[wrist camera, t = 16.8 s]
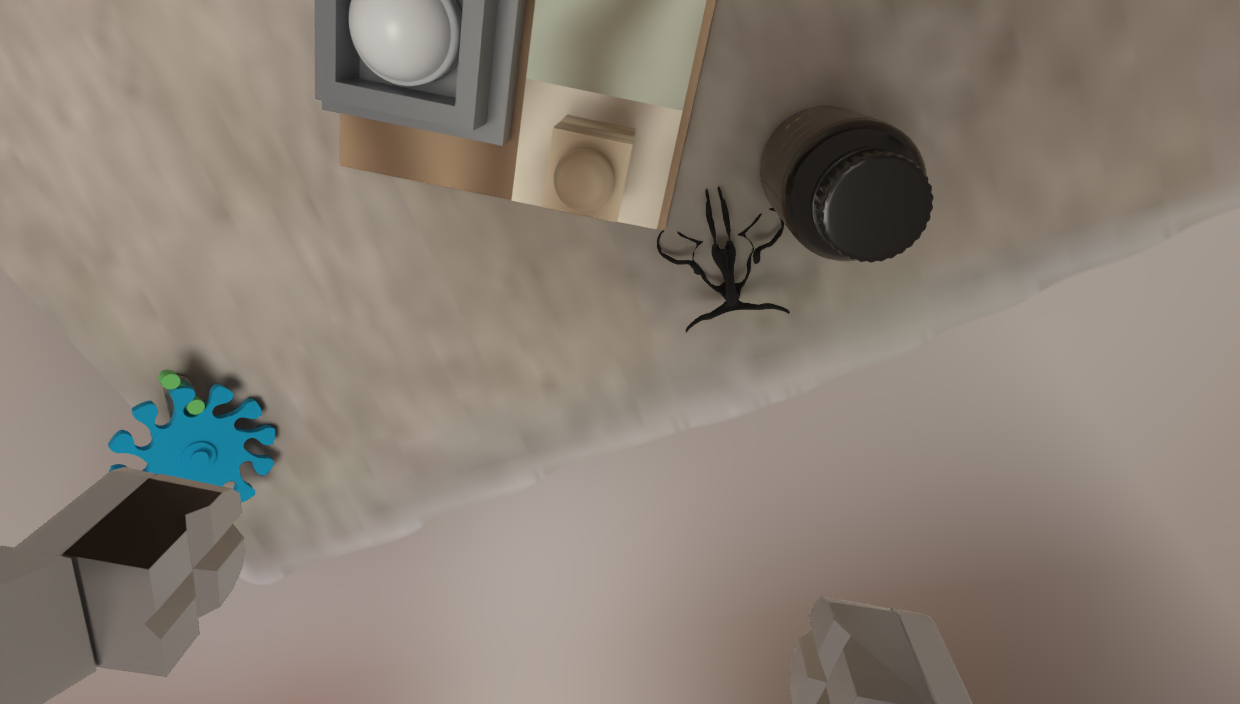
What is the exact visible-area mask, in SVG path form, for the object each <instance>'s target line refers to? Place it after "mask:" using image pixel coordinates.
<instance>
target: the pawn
mask: <svg viewBox="0 0 1240 704" xmlns="http://www.w3.org/2000/svg"><path fill="white" fill-rule="evenodd" d="M635 130H636V129H633V128H628V127H624V126H619V125H614V124H610V123H605V122H600V121H596V120H591V119H586V118H582V117H577V116H572V115H568V114H567V115H566V116H565V117H564V118H563V119H562V120H561V121H560V122H559V123H558V124H557V125H555V126H554V127H553V132H552V139H551V145H550V152H549V159H548V166H547V173H546V179H545V186H544V193H543V200H542V206H541V207H544V208H549V209H554V210H559V211H563V212H568V213H573V214H578V215H583V216H588V217H592V218H597V219H602V220H607V221H612V222H617V221H618V216H619V211H620V206H621V201H622V196H623V191H624V186H625V181H626V176H627V171H628V166H629V161H630V156H631V151H632V146H633V141H634V135H635Z"/></svg>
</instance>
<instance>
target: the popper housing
mask: <svg viewBox="0 0 1240 704" xmlns="http://www.w3.org/2000/svg"><path fill="white" fill-rule="evenodd" d="M456 2H457V3H458V5H459V8H460V10H461V13H462V24H461V37H460V50H459V61H458V63H457V65H456V66H455V67H454V69H453V70H452V71H451V72H450V73H449V74H447V75H446V76H445V77H443V78H441V79H439V80H437V81H434V82H430V83H426V84H421V85H415V86H403V85H398V84H394V83H391V82H389V81H386V80H385V79H383V78H381V77H379V76H378V75H377V74H375V73H374V72H373V71H372V70H371V69H370V68H369V67H368V66H367V65H366V64H365V63H364V62H363V60H362V59H361V57H360V56H359V54H358V52H357V50H356V48H355V46H354V44H353V41H352V38H351V34H350V29H349V8H350V3H351V0H315V99H318V100H322V110H327V111H332V112H337V113H342V114H347V115H352V116H357V117H362V118H367V119H372V120H377V121H382V122H387V123H392V124H397V125H401V126H406V127H411V128H416V129H421V130H426V131H431V132H436V133H441V134H446V135H451V136H456V137H461V138H466V139H471V140H476V141H481V142H486V143H491V144H496V145H501V146H503V145H504V144H506V143H507V142H508V141H510V140H511V133H512V124H513V116H514V107H515V98H516V89H517V81H518V72H519V63H520V54H521V46H522V37H523V28H524V19H525V11H526V2H527V0H456Z"/></svg>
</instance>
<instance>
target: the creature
mask: <svg viewBox="0 0 1240 704" xmlns="http://www.w3.org/2000/svg"><path fill="white" fill-rule="evenodd" d="M718 192H719V196H720V200H721V207H722V212H723V220H724V223H725V227H726V231H727V234H728V237H729V241H728V242H727V244H726V246H725V249H721V250H720V248H719V246H718V244H716V233H715V226H714V220H713V218H712V212H711V206H710V200H709V194H708V190H707V189H706V198H707V202H706V217H707V222H708V225H709V228H710V231H711V234H712V236H713V239H714V244H713V245H712V257H713V259H714V261H715V263H716V264H717V266H718V267H719V268H720V270H721V272H722V274H723V277H724V280H725V282H724V283H722V284H721V285H720V286H715V285H713V284H711V283H710V282H709V281H708V279H707V278H706V276H705V274H704V272H703V271H702V269H701V268H700V267H699V266H698V265H697V264H696V263H695V262H694V260H693V261H690V260H676V259H674V258H672V257H670V256H668V255H666V254H664V253H662V251H661V248H660V245H659V239H660V236H661V234H662V233H663V232H664V230H663V231H662V232H661V233H660V234H659V236H658V239H657V249H658V251H659V253H660V254H661V255H662V256H663V257H664V258H666V259H667V260H669V261H670V262H672V263H675V264H677V265H678V264H689V265H690V266H691V267H692V268H693V269H694V273H695V274H697V275H701V277H702V278H703V280H704V281H705V282H706V283H707V284H708V285H709V286H710V287H711V288H713V289H714V290H715V291H717V292H719V293H720V294H721V295H722V296H723V297H724V299H725V300H726V301H725V302H724V303H723V304H722V305H721V306H720V307H718V308H716V309H715V310H714V311H712V312H710V313H707V314H704V315H701V316H699V317H698V318H697V319H695V320H694V321H693V322H692V323H691V324H690V325H689V326H688V327H687V328H686V333H687V331H688V330H689V329H690V328H691V327H692V326H694V325H695V324H697V323H698V322H700V321H702V320H709V319H712V318H714V317H716V316H718V315H721V314H723V313H726V312H729V311H733V310H763V309H777V310H781V311H784V312H787V313H788V314H789V313H790V312H789V310H787V309H786V308H784V307H781V306H778V305H774V304H770V303H764V304H760V305H756V304H750V303H743V302H741V301H739V300H738V299H739V297H740V291H741V288H742V287H743V286H744V284H745V282H746V280H747V278H748V276H749V274H750V270H751V255H752V253H753V251H754V247H753V251H752V253H751V254H750V256H749V258H748V262H747V274H746V277H745V279H744V280H743V281H742V282H740V283H734V262H735V256H736V250H735V247H734V244H733V242H732V241H730V231H731V229H730V219H729V213H728V208H727V206H726V202H725V200H724V198H723V197H722V193H721V190H720V187H718ZM770 210H772V211H775V210H774V208H770ZM775 212H776V211H775ZM776 213H777V212H776ZM761 214H762V213H761ZM761 214H759V215H758V217H757V218H756V219H755V221H754V222H753V223H752V225H751V226H750V227H748V228H747V229H746V230H744V231H743V232H742V233H740V234H738V235H739V236H744V237H745V238H746V235H745V233H746V232H747V231H748V230H749V229H750V228H751V227H752V226H753V225H754V224H755V223H756V222H757V221H758V219H759V218H760V216H761ZM780 219H781V218H780ZM781 224H782V227H781V229H780V230H779V231H778V232H777V234H776V235H775V236H774V238H773V239H772V240H771V242H769V243H766V244H764V245H762V246H759V247H758V248H756V249H755V251H754V253H753V261H754V264H757V263H759V261H760V252H761V250H763V249H765V248H767V247H770V246H772V245H773V244H774V243H775V242H776V241H777V239H778V238H779V237H780V236H781V234H782V231H783V228H784V222H783V220H782V219H781ZM678 234H679V235H680V236H681V237H684V238H686V239H688V240H691V241H693V242H695V243H696V245H697V247H698V245H700V244H701V243H703V242H702V241H697V240H693V239H690V238H687V237H686V236H684V235H683V234H681V233H680V232H678ZM748 240H749V239H748ZM749 241H750V240H749ZM750 242H751V241H750ZM751 244H752V243H751ZM752 246H753V245H752ZM697 247H696V248H697ZM693 257H694V253H693Z"/></svg>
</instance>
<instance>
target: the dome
mask: <svg viewBox="0 0 1240 704" xmlns="http://www.w3.org/2000/svg"><path fill="white" fill-rule="evenodd" d="M461 24H462V13H461V10H460V8H459V5H458V3H457V2H456V0H351V3H350V8H349V29H350V34H351V38H352V41H353V44H354V46H355V48H356V50H357V52H358V54H359V56H360V57H361V59H362V60H363V62H364V63H365V64H366V65H367V66H368V67H369V68H370V69H371V70H372V71H373V72H374V73H375V74H377V75H378V76H379V77H381V78H383V79H385V80H386V81H389V82H391V83H394V84H398V85H403V86H415V85H421V84H426V83H430V82H434V81H437V80H439V79H441V78H443V77H445V76H446V75H447V74H449V73H450V72H451V71H452V70H453V69H454V67H455V66H456V65H457V63H458V61H459V50H460V37H461Z"/></svg>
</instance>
